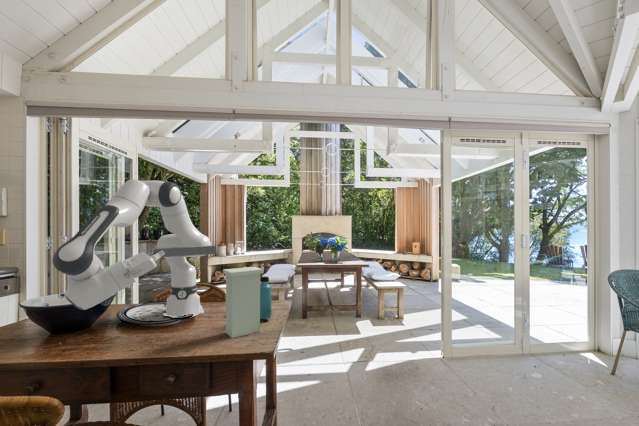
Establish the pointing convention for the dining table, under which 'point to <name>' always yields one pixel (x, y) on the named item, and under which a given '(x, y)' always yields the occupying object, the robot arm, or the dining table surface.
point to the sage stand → (242, 300)
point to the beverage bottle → (265, 299)
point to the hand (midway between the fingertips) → (162, 251)
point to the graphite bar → (186, 251)
